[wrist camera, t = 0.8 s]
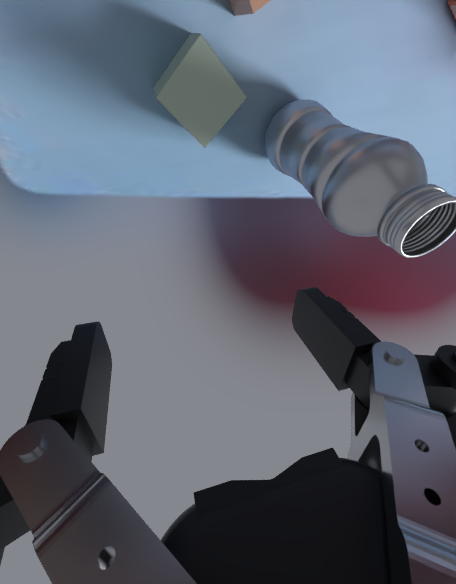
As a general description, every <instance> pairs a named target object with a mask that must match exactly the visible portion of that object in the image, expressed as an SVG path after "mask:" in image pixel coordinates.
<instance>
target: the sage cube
mask: <svg viewBox="0 0 456 584" xmlns="http://www.w3.org/2000/svg"><path fill="white" fill-rule="evenodd" d="M153 90H154V93H155V96H156V99H157V100H158V101H159V102H160V103H161V104H162V105H163V106H164V107H165V108H166V109H167V110H168V111H169V112H170V113H171V114H172V115H173V116H174V117H175V118H176V119H177V120H178V121H179V122H180V123H181V124H182V125H183V126H184V127H185V128H186V129H187V130H188V131H189V132H190V134H191V135H192V136H193V137H194V138H195V139H196V140H197V141H198V142H199V143H200V144H201V145H202V146H203V147H204V148H205V147H206V146H207V145H208V143H209V142H210V141H211V140H212V139H213V137H214V136H215V135H216V134H217V133H218V131H219V130H220V129H221V128H222V127H223V125H224V124H225V123H226V122H227V121H228V120H229V118H230V117H231V116H232V115H233V114H234V112H235V111H236V110H237V109H238V108H239V106H240V105H241V104H242V103H243V102H244V100H245V99H246V98H247V97H246V95H245V94H244V92H243V91H242V90H241V88H240V87H239V86H238V84H237V83H236V81H235V80H234V79H233V77H232V76H231V74H230V73H229V72H228V70H227V69H226V67H225V66H224V65H223V63H222V62H221V61H220V59H219V58H218V56H217V55H216V54H215V52H214V51H213V49H212V48H211V47H210V45H209V44H208V42H207V41H206V40H205V38H204V37H203V36H202V34H198V33H190V35H189V36H188V37H187V39H186V40H185V42H184V43H183V45H182V46H181V48H180V49H179V51H178V52H177V54H176V55H175V56H174V58H173V59H172V61H171V62H170V64H169V65H168V67H167V68H166V70H165V71H164V73H163V74H162V75H161V77H160V78H159V80H158V81H157V83H156V84H155V86H154V87H153Z"/></svg>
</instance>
